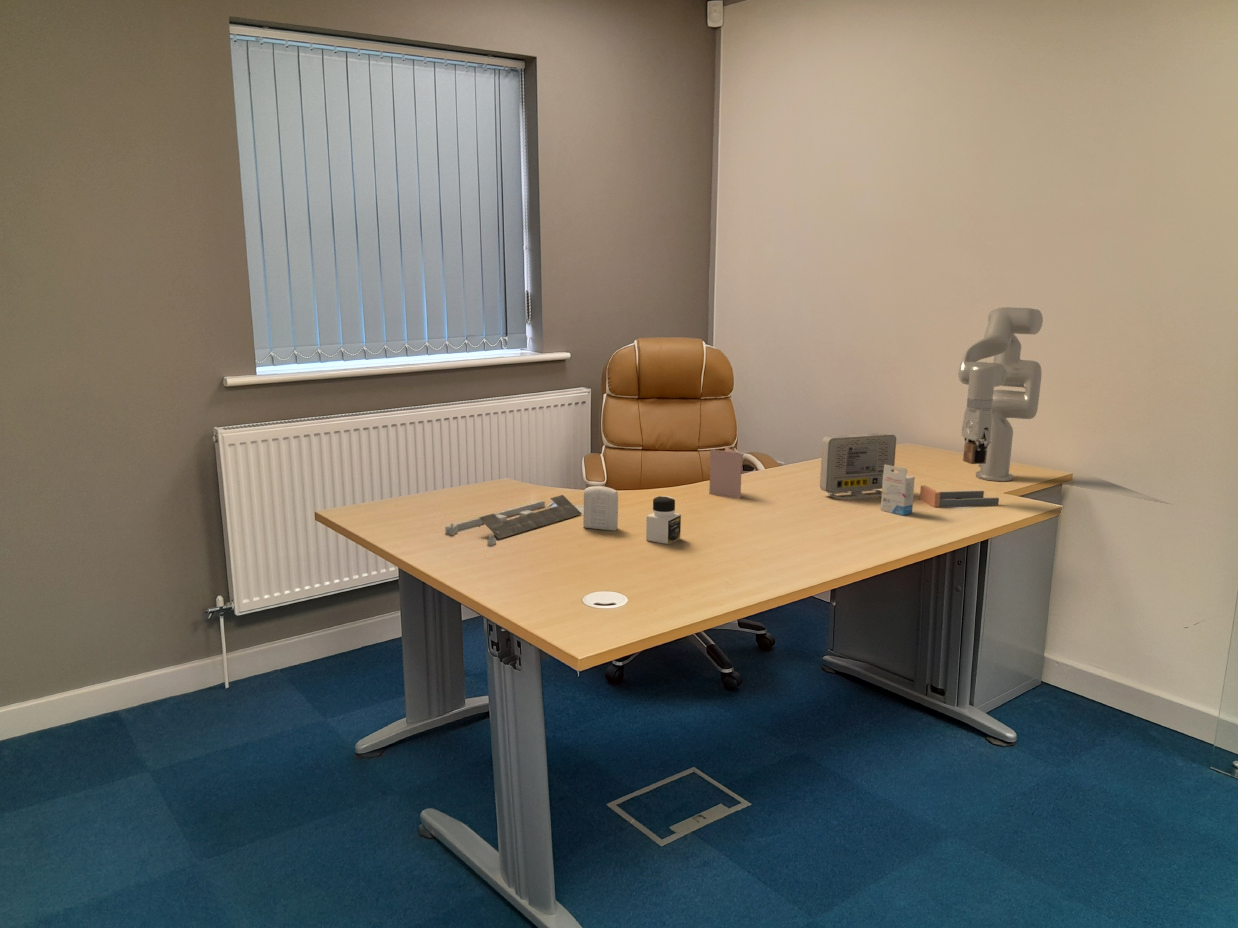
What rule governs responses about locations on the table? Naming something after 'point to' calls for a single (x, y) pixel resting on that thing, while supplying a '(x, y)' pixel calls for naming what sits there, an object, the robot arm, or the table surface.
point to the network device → (856, 463)
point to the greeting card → (725, 473)
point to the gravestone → (600, 508)
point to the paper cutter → (521, 518)
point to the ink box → (897, 491)
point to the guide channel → (949, 497)
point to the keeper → (971, 453)
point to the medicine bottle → (663, 521)
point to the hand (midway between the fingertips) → (974, 460)
